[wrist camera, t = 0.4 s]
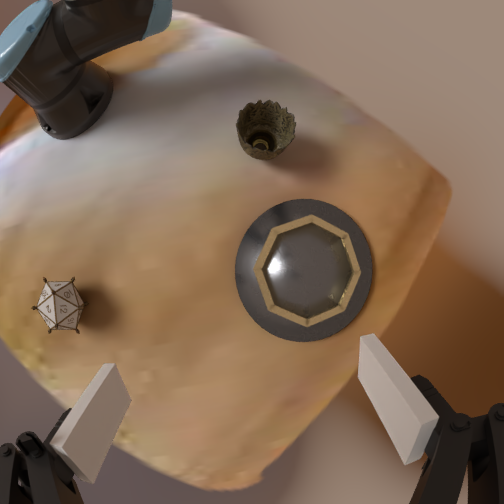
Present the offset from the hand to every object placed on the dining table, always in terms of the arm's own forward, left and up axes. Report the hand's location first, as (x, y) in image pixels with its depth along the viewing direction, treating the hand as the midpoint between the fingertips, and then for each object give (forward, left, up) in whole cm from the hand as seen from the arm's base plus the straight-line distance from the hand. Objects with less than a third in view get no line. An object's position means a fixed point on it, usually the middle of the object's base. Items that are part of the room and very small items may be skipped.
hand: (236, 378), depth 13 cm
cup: (-20, +11, -25) cm, 34 cm away
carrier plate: (-1, +11, -25) cm, 28 cm away
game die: (-8, -24, -26) cm, 36 cm away
